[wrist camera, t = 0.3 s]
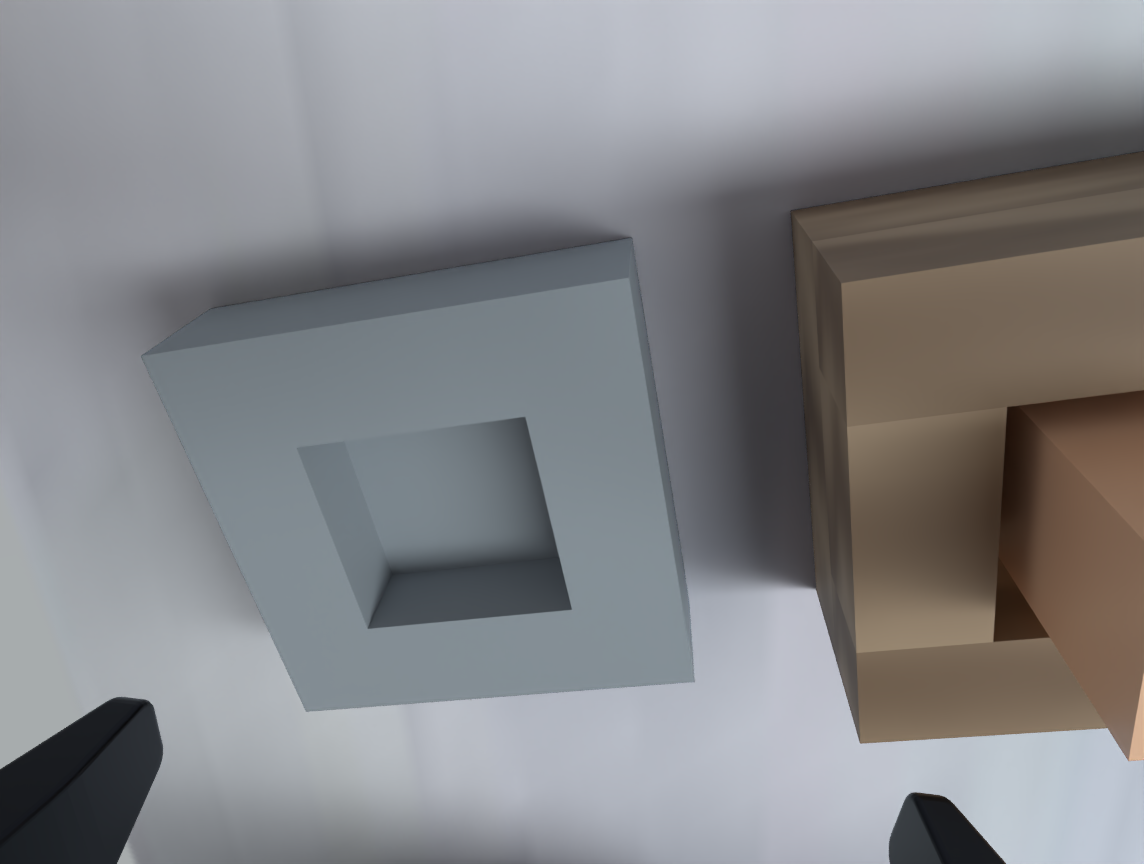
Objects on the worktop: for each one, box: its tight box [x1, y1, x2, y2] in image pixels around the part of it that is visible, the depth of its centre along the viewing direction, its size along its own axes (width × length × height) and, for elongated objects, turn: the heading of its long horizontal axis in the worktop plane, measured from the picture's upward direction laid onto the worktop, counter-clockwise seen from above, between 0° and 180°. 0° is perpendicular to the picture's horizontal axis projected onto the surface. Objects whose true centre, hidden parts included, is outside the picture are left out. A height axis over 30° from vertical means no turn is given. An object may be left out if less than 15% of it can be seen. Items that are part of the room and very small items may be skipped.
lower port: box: [141, 238, 695, 712], centre depth 23 cm, size 12×12×4 cm
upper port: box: [791, 151, 1144, 743], centre depth 19 cm, size 12×12×6 cm
